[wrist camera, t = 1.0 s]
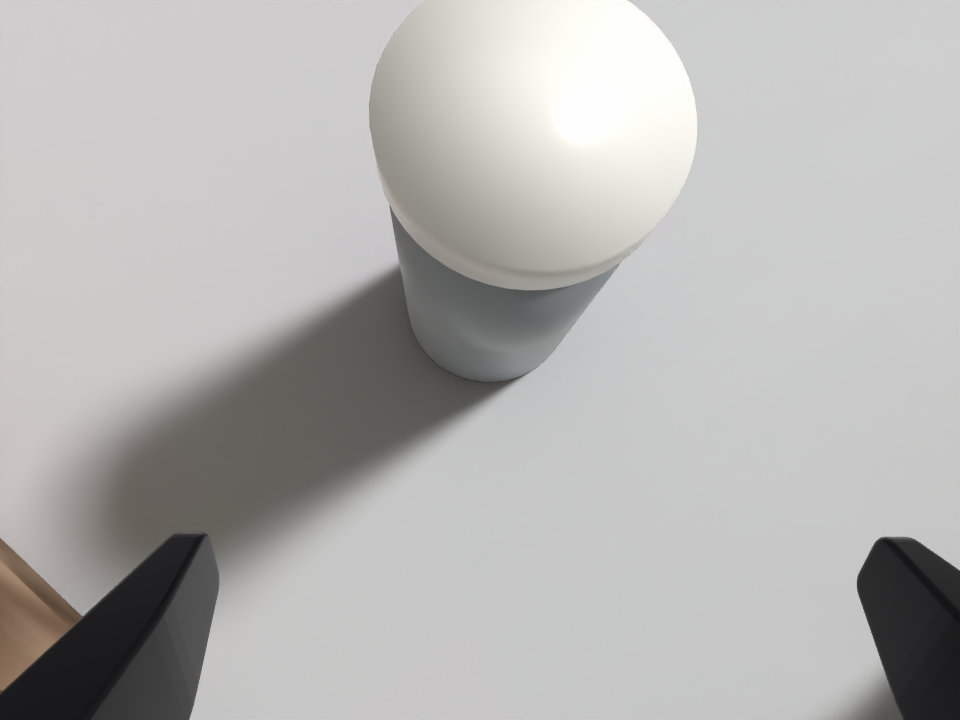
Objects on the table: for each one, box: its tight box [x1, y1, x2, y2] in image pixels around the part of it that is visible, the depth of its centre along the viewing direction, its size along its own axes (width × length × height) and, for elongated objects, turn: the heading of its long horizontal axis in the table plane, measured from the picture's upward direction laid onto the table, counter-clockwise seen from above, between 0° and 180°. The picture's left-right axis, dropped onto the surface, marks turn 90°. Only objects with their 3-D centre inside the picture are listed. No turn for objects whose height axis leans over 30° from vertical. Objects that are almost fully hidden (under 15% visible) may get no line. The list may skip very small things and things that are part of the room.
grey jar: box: [369, 0, 697, 382], centre depth 18 cm, size 6×6×12 cm
